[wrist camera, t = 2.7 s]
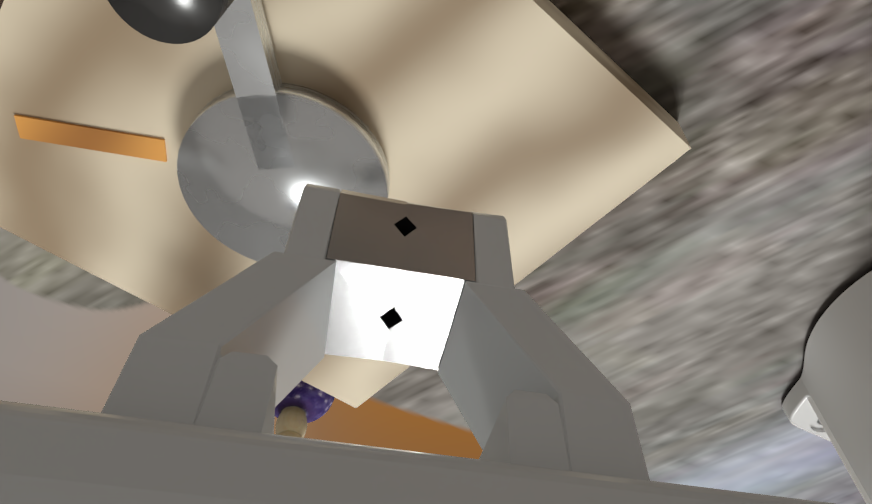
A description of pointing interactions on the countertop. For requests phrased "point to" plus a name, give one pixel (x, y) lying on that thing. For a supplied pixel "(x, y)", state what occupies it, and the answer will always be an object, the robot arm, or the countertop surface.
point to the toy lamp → (301, 409)
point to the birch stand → (348, 84)
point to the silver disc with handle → (257, 129)
